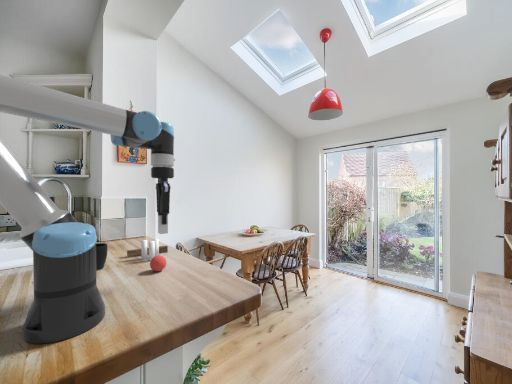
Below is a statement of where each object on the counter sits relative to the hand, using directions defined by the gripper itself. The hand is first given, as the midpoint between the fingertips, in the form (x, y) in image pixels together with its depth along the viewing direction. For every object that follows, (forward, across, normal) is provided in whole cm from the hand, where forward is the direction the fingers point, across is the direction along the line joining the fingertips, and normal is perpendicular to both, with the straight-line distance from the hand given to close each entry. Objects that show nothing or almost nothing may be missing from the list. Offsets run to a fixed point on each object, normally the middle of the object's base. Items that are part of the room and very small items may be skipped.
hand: (162, 232), depth 84 cm
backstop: (+16, +37, 0) cm, 40 cm away
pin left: (+16, +30, +2) cm, 34 cm away
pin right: (+16, +30, -2) cm, 34 cm away
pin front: (+16, +26, 0) cm, 30 cm away
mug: (+17, +28, +21) cm, 38 cm away
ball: (+13, +10, 0) cm, 16 cm away
